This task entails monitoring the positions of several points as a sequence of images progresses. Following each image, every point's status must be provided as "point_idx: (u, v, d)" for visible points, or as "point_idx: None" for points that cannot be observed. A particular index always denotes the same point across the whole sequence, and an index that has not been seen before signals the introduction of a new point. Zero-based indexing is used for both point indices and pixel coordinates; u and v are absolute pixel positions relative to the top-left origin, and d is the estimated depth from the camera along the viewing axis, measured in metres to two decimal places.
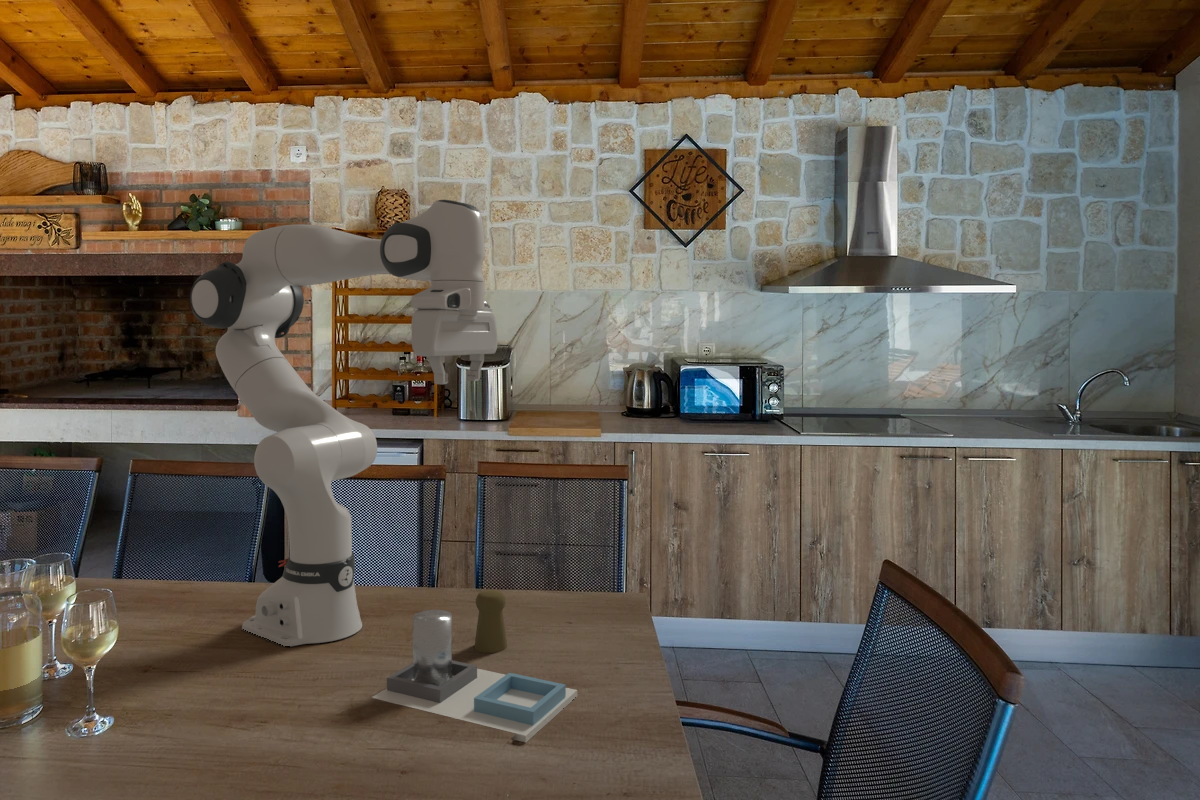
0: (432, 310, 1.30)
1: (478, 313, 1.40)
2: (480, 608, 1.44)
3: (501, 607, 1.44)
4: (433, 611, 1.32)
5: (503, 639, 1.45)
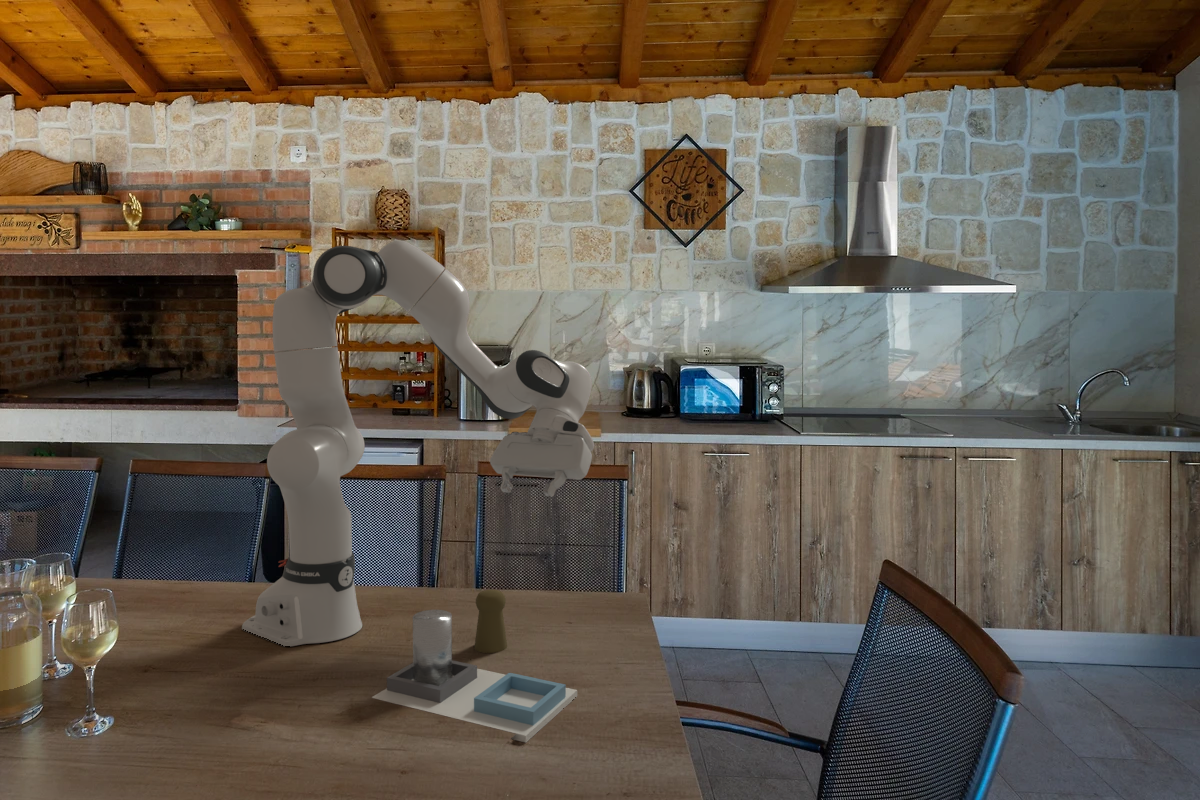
0: None
1: None
2: (480, 608, 1.44)
3: (501, 607, 1.44)
4: (433, 611, 1.32)
5: (503, 639, 1.45)
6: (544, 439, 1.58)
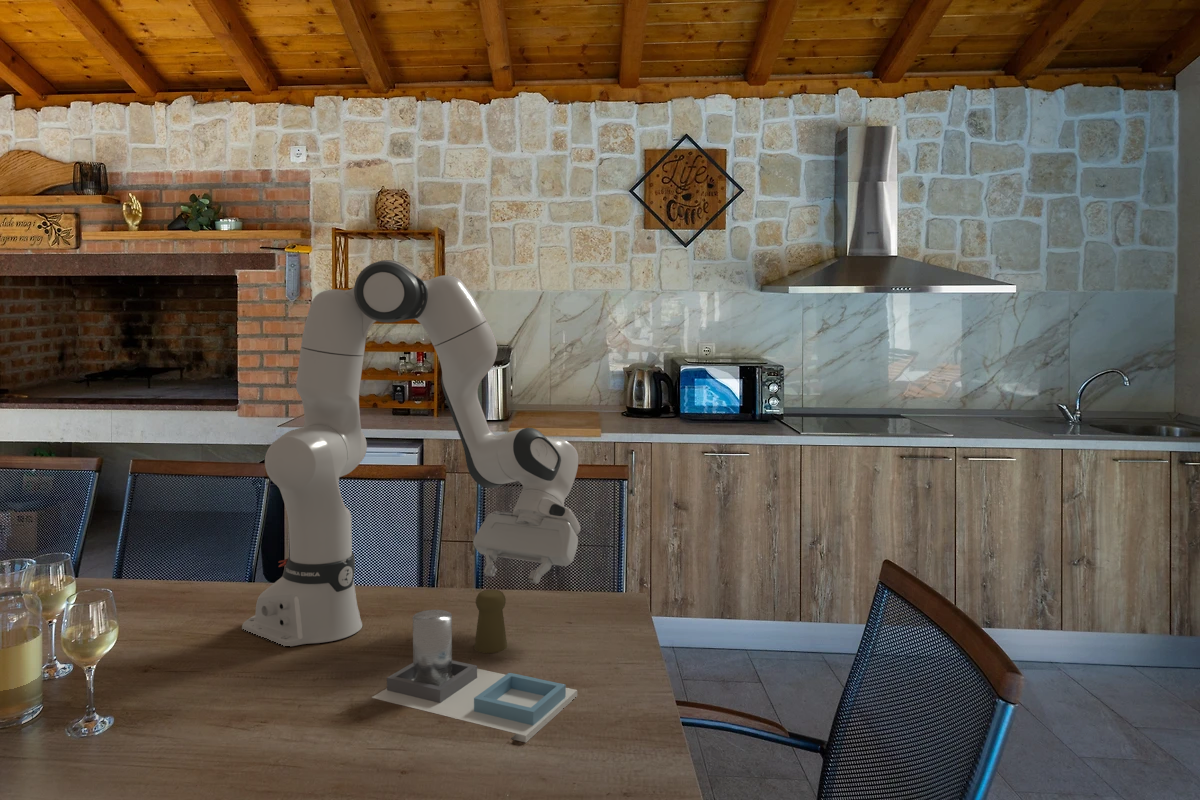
0: (572, 530, 1.55)
1: None
2: (480, 608, 1.44)
3: (501, 607, 1.44)
4: (433, 611, 1.32)
5: (503, 639, 1.45)
6: (530, 522, 1.55)
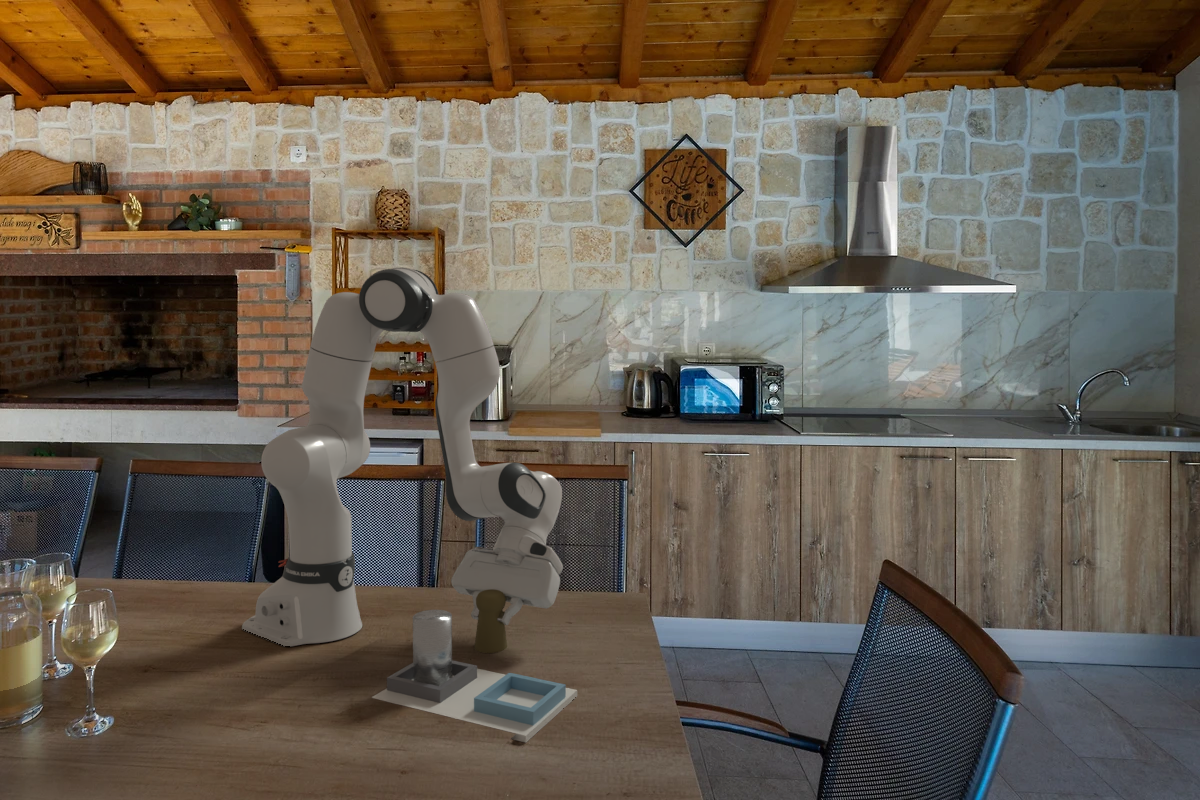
0: (554, 570, 1.49)
1: None
2: (480, 608, 1.44)
3: (501, 607, 1.44)
4: (433, 611, 1.32)
5: (503, 639, 1.45)
6: (510, 561, 1.49)
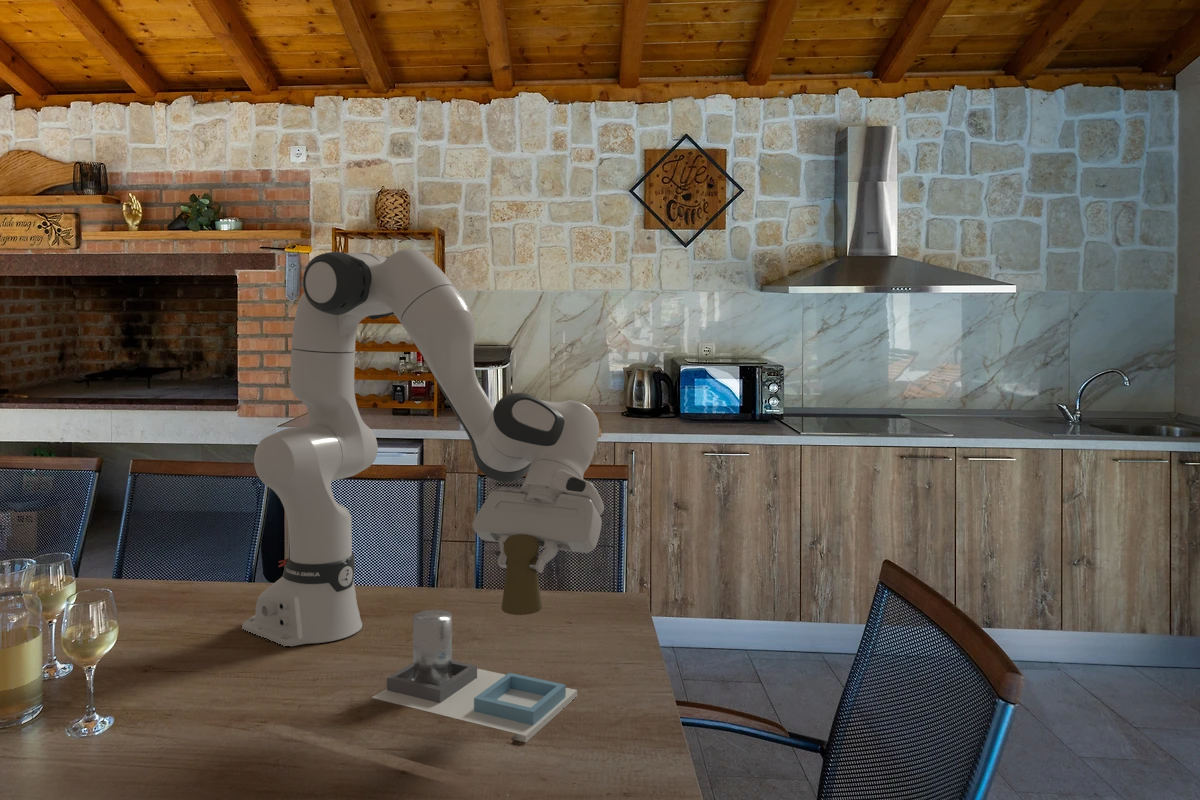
0: None
1: None
2: (509, 555, 1.21)
3: (534, 554, 1.21)
4: (433, 611, 1.32)
5: (536, 592, 1.22)
6: (542, 500, 1.26)
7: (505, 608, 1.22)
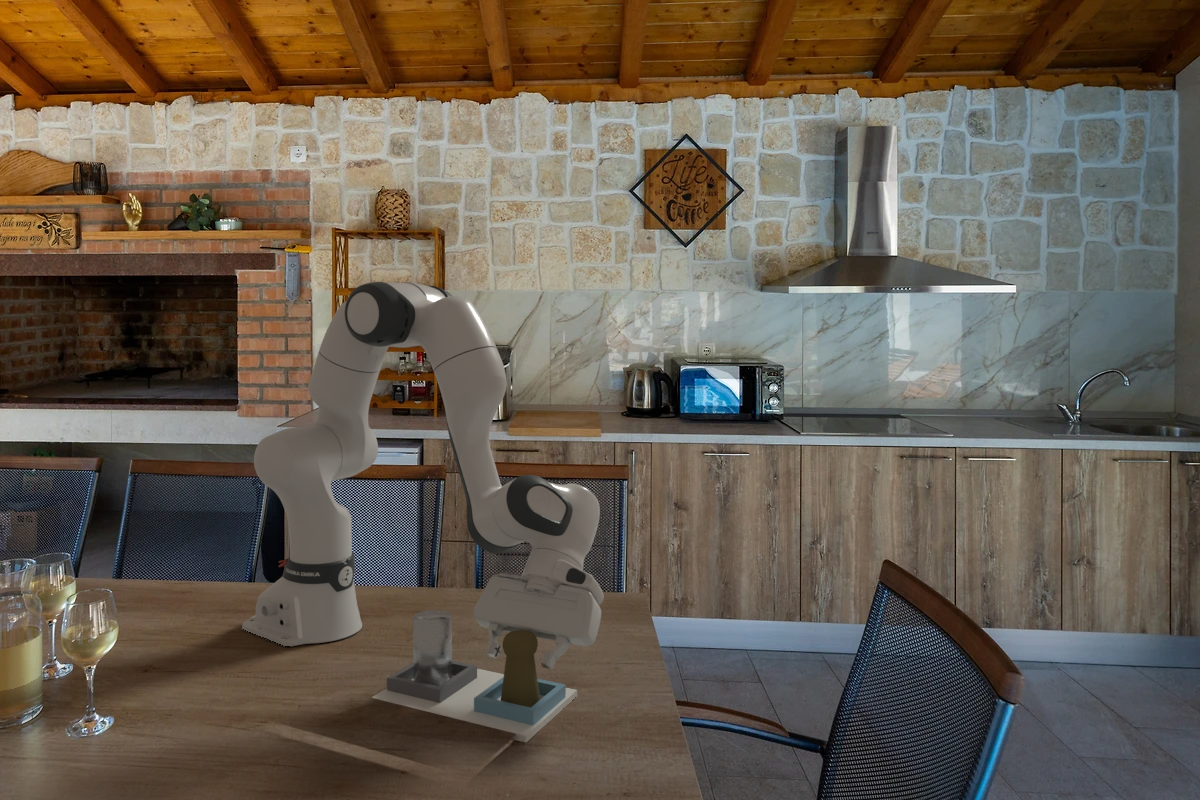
0: None
1: None
2: (508, 653, 1.21)
3: (532, 652, 1.22)
4: (433, 611, 1.32)
5: (535, 689, 1.23)
6: (542, 590, 1.27)
7: None
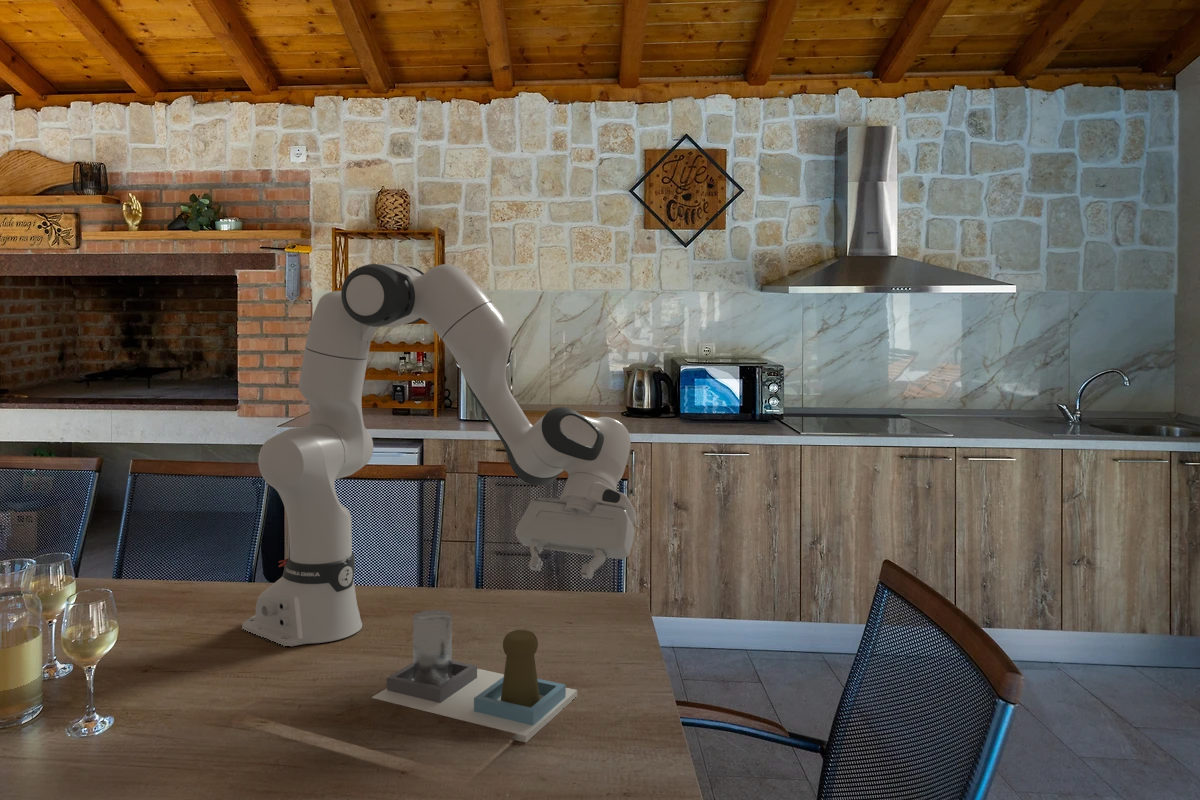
0: None
1: None
2: (508, 653, 1.21)
3: (533, 652, 1.22)
4: (433, 611, 1.32)
5: (535, 689, 1.23)
6: (580, 509, 1.37)
7: None
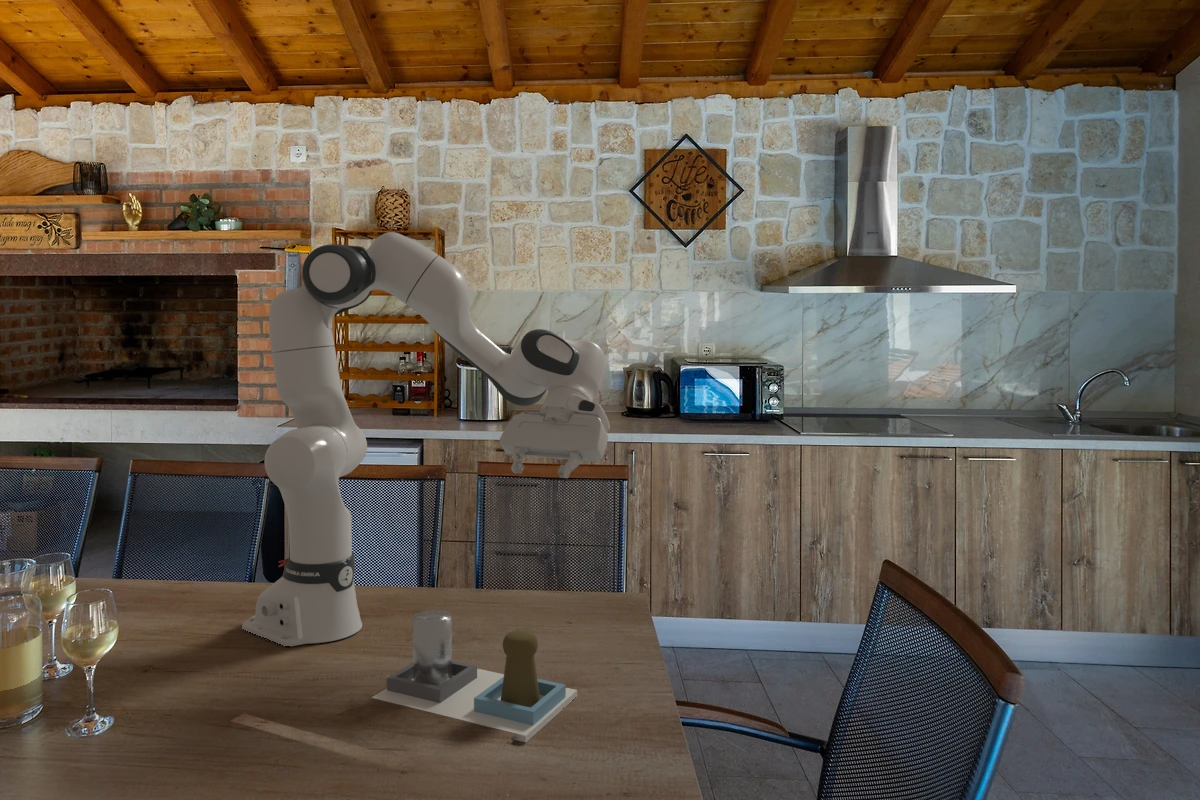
0: None
1: None
2: (508, 653, 1.21)
3: (533, 652, 1.22)
4: (433, 611, 1.32)
5: (535, 689, 1.23)
6: (558, 418, 1.50)
7: None
